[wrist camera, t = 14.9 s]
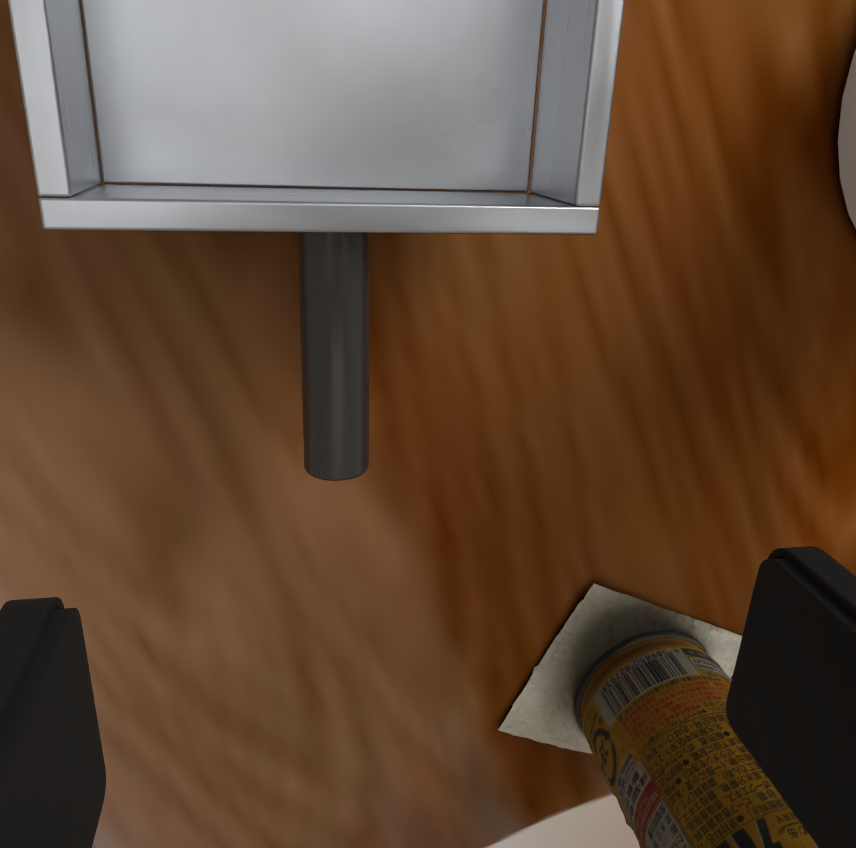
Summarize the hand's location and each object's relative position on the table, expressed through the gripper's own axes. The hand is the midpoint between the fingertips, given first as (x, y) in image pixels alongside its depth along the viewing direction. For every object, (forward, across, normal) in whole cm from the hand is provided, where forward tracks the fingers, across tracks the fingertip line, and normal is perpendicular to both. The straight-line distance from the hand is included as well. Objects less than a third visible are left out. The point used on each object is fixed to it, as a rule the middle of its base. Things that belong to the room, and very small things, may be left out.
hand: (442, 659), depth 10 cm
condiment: (+14, -11, +14) cm, 23 cm away
